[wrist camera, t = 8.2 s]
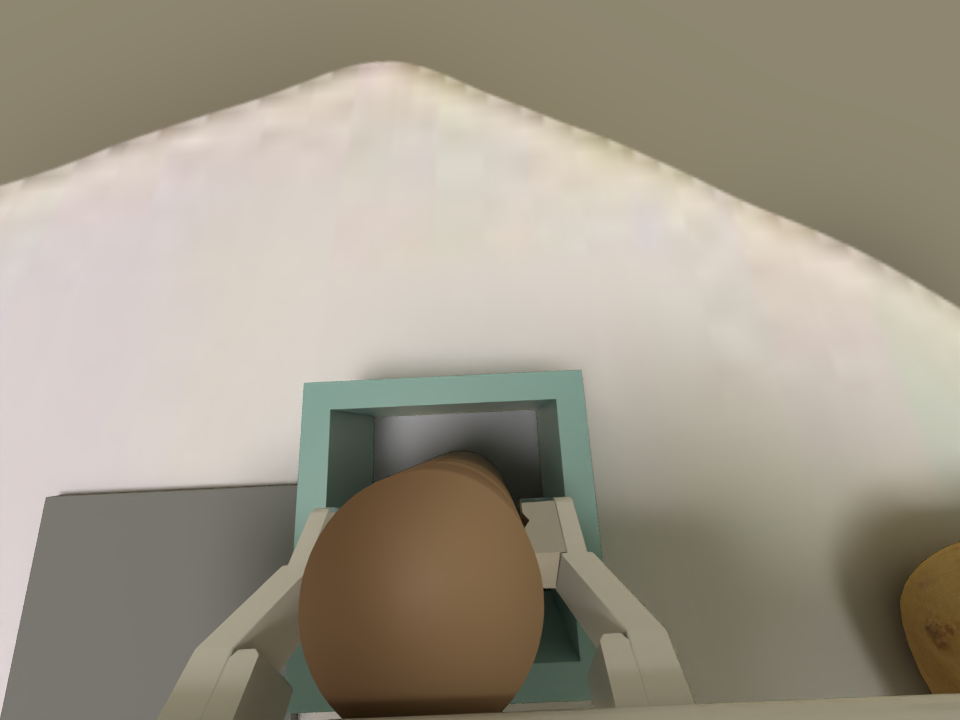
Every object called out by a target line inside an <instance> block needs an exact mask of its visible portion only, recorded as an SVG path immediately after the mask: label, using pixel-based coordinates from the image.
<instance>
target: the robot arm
mask: <svg viewBox="0 0 960 720" xmlns="http://www.w3.org/2000/svg"><path fill="white" fill-rule="evenodd" d="M340 508H341V507H328V508H314V510H313V511H312V512H311V513H310V515H309V517H308V520H307V522H306V524H305V527H304V529H303V531H302V533H301V536H300V538H299V540H298V543H297V545H296V547H295V550H294V552H293V554H292V557H291V559H290V561H289V564H288V565H285V566H282V567H281V568H280V569H279V570H277V571H276V572H275V573H274V574H273V575H272V576H271V577H270V578H269V579H268V580H267V581H266V582H265V583H264V584H263V585H262V586H261V587H260V588H259V589H258V590H257V591H256V592H254V593H253V594H252V595H251V596H250V597H249V598H248V599H247V600H246V601H245V602H244V603H243V604H242V605H241V606H240V607H239V608H238V609H237V610H236V611H235V612H234V613H232V614H231V615H230V616H229V617H228V618H227V619H226V620H225V621H224V622H223V623H222V624H221V625H220V626H219V627H218V628H217V629H216V630H215V631H214V632H213V633H212V634H210V635H209V636H208V637H207V638H206V639H205V640H204V641H203V642H202V643H201V644H200V645H199V646H198V647H197V648H196V649H195V650H194V652H193V654H192V656H191V658H190V659H189V661H188V663H187V665H186V667H185V669H184V671H183V672H182V674H181V676H180V678H179V680H178V682H177V683H176V685H175V687H174V689H173V691H172V693H171V694H170V696H169V698H168V700H167V702H166V704H165V706H164V707H163V709H162V711H161V713H160V715H159V717H158V718H157V720H284V718H285V715H286V711H287V708H288V705H289V702H290V699H291V695H292V692H293V689H292V686H291V684H290V683H289V682H288V681H287V680H286V679H285V678H284V677H283V676H282V675H281V674H280V673H279V671H280V670H281V668H282V667H283V666H284V664H285V663H286V662H287V660H288V659H289V658H290V656H291V655H292V654H293V652H294V651H295V650H296V648H297V647H298V646H299V644H300V643H301V640H300V631H299V623H298V621H299V596H300V587H301V583H302V578H303V574H304V570H305V567H306V564H307V561H308V558H309V556H310V553H311V551H312V549H313V547H314V545H315V543H316V541H317V539H318V537H319V535H320V534H321V532H322V531H323V529H324V527H325V526H326V524H327V523H328V522H329V520H330V519H331V518H332V517H333V516H334V514H335V513H336V512H337V511H338V510H339V509H340ZM519 508H520V515H519V516H520V519H521V521H522V523H523V526H524V528H525V530H526V533H527V535H528V537H529V540H530V542H531V545H532V547H533V550H534V552H535V555H536V558H537V561H538V565H539V569H540V572H541V577H542V584H543V588H556V590H557V592H558V593H559V595H560V596H561V598H562V599H563V601H564V602H565V603H566V605H567V606H568V608H569V609H570V611H571V612H572V613H573V615H574V616H575V618H576V619H577V621H578V622H579V624H580V625H581V626H582V628H583V629H584V631H585V632H586V634H587V635H588V636H589V638H590V639H591V641H592V642H593V644H594V645H595V647H596V648H597V651H596V654H595V656H594V659H593V662H592V665H591V668H590V671H589V673H588V676H587V680H588V685H589V690H590V695H591V699H592V704H593V708H592V709H569V710H545V711H521V712H497V713H473V714H449V715H425V716H402V717H378V718H354V719H330V720H960V693H958V694H926V695H903V696H879V697H855V698H831V699H807V700H783V701H759V702H736V703H712V704H695V701H694V699H693V696H692V694H691V691H690V689H689V686H688V684H687V681H686V679H685V676H684V674H683V671H682V669H681V666H680V663H679V661H678V658H677V656H676V653H675V651H674V648H673V646H672V643H671V641H670V638H669V636H668V633H667V631H666V629H665V628H664V627H663V626H662V625H661V624H660V623H659V622H658V621H657V620H656V618H655V617H654V616H653V615H652V614H651V613H650V612H649V611H648V610H647V609H646V608H645V607H644V606H643V605H642V604H641V603H640V602H639V600H638V599H637V598H636V597H635V596H634V595H633V594H632V593H631V592H630V591H629V590H628V589H627V588H626V587H625V586H624V585H623V584H622V582H621V581H620V580H619V579H618V578H617V577H616V576H615V575H614V574H613V573H612V572H611V571H610V570H609V569H608V568H607V567H606V566H605V565H604V563H603V562H602V561H601V560H600V559H599V558H598V557H597V556H596V555H595V554H594V553H593V552H587V549H586V545H585V542H584V538H583V535H582V531H581V528H580V524H579V521H578V517H577V514H576V510H575V506H574V503H573V500H572V498H571V497H570V496H567V497H542V498H526V499H520V501H519Z"/></svg>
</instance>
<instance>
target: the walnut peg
mask: <svg viewBox="0 0 960 720" xmlns="http://www.w3.org/2000/svg"><path fill="white" fill-rule="evenodd" d="M543 618H544V592H543V584H542V577H541V572H540V569H539V565H538V561H537V558H536V555H535V552H534V550H533V547H532V545H531V542H530V540H529V537H528V535H527V533H526V530H525V528H524V526H523V523H522V521H521V519H520V516H519V514H518V512H517V509H516V507H515V505H514V502H513V500H512V497H511V495H510V493H509V490H508V488H507V486H506V483H505V481H504V479H503V477H502V475H501V474H500V472H499V471H498V469H497V468H496V467H495V466H494V465H493V464H492V463H491V462H490V461H488V460H487V459H485V458H484V457H482V456H480V455H478V454H475V453H472V452H466V451H455V452H450V453H446V454H444V455H441V456H439V457H436V458H434V459H431V460H429V461H426V462H424V463H421V464H419V465H416V466H414V467H412V468H409V469H407V470H404V471H402V472H399V473H397V474H394V475H392V476H389V477H387V478H385V479H382V480H380V481H377V482H375V483H373V484H372V485H370V486H368V487H366V488H364V489H363V490H361V491H360V492H359V493H357V494H356V495H354V496H353V497H352V498H350V499H349V500H348V501H347V502H346V503H345V504H344V505H343V506H342V507H341V508H340V509H339V510H338V511H337V512H336V513H335V514H334V516H333V517H332V518H331V519H330V520H329V522H328V523H327V524H326V526H325V527H324V529H323V531H322V532H321V534H320V535H319V537H318V539H317V541H316V543H315V545H314V547H313V549H312V551H311V553H310V556H309V558H308V561H307V564H306V567H305V570H304V574H303V578H302V583H301V587H300V596H299V621H298V623H299V631H300V640H301V644H302V649H303V653H304V657H305V660H306V663H307V665H308V668H309V671H310V673H311V676H312V678H313V680H314V681H315V683H316V685H317V687H318V689H319V691H320V692H321V694H322V695H323V697H324V698H325V699H326V701H327V702H328V704H329V705H330V706H331V707H332V708H333V709H334V710H335V711H336V713H337V714H338V715H339V716H340V717H341V718H342V719H354V718H378V717H402V716H425V715H449V714H473V713H497V712H502V711H503V710H504V709H505V707H506V706H507V705H508V704H509V703H510V702H511V701H512V699H513V698H514V697H515V695H516V694H517V692H518V691H519V689H520V688H521V686H522V685H523V683H524V681H525V679H526V677H527V675H528V673H529V671H530V669H531V667H532V665H533V662H534V659H535V656H536V653H537V651H538V647H539V643H540V638H541V634H542V628H543Z"/></svg>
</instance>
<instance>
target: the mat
mask: <svg viewBox="0 0 960 720" xmlns="http://www.w3.org/2000/svg"><path fill="white" fill-rule="evenodd" d="M297 486H298V484H296V485H275V486H253V487H231V488H210V489H188V490H167V491H145V492H123V493H102V494H80V495H59V496H51V497H46V500H45V504H44V509H43V514H42V519H41V524H40V529H39V533H38V538H37V543H36V548H35V553H34V558H33V562H32V567H31V572H30V577H29V582H28V587H27V591H26V596H25V601H24V606H23V611H22V616H21V620H20V625H19V630H18V635H17V640H16V645H15V649H14V654H13V659H12V664H11V669H10V674H9V678H8V683H7V688H6V693H5V698H4V703H3V707H2V712H1V717H0V720H157V718H158V717H159V715H160V713H161V711H162V709H163V707H164V706H165V704H166V702H167V700H168V698H169V696H170V694H171V693H172V691H173V689H174V687H175V685H176V683H177V682H178V680H179V678H180V676H181V674H182V672H183V671H184V669H185V667H186V665H187V663H188V661H189V659H190V658H191V656H192V654H193V652H194V650H195V649H196V648H197V647H198V646H199V645H200V644H201V643H202V642H203V641H204V640H205V639H206V638H207V637H208V636H209V635H210V634H212V633H213V632H214V631H215V630H216V629H217V628H218V627H219V626H220V625H221V624H222V623H223V622H224V621H225V620H226V619H227V618H228V617H229V616H230V615H231V614H232V613H234V612H235V611H236V610H237V609H238V608H239V607H240V606H241V605H242V604H243V603H244V602H245V601H246V600H247V599H248V598H249V597H250V596H251V595H252V594H253V593H254V592H256V591H257V590H258V589H259V588H260V587H261V586H262V585H263V584H264V583H265V582H266V581H267V580H268V579H269V578H270V577H271V576H272V575H273V574H274V573H275V572H276V571H277V570H279V569H280V568H281V567H282V566H285V565H288V564H289V561H290V559H291V557H292V554H293V550H294V534H295V518H296V502H297ZM279 673H280V674H281V675H282V676H283V677H284V678H286V663H285V664H284V666H283V667H282V668H281V670H280V671H279ZM284 720H297V713H287V714H286V715H285V718H284Z"/></svg>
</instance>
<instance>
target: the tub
mask: <svg viewBox="0 0 960 720" xmlns="http://www.w3.org/2000/svg"><path fill="white" fill-rule="evenodd" d="M516 410H536V415H537V428H538V441H539V453H540V466H541V478H542V491H543V497H567V496H570V497H571V498H572V500H573V503H574V506H575V510H576V514H577V517H578V521H579V524H580V528H581V531H582V535H583V538H584V542H585V545H586V549H587V552H593V553H594V554H595V555H596V556H597V557H598V558H599V559H600V560H601V561H602V553H601V543H600V534H599V525H598V516H597V507H596V498H595V489H594V479H593V470H592V461H591V452H590V443H589V434H588V425H587V415H586V406H585V397H584V388H583V379H582V370H566V371H545V372H524V373H503V374H482V375H460V376H439V377H418V378H397V379H376V380H355V381H334V382H312V383H304V390H303V406H302V422H301V438H300V454H299V470H298V486H297V502H296V518H295V534H294V550H295V547H296V545H297V543H298V540H299V538H300V536H301V533H302V531H303V529H304V527H305V524H306V522H307V520H308V517H309V515H310V513H311V512H312V511H313V510H314V508H328V507H342V506H343V505H344V504H345V503H346V502H347V501H348V500H349V499H350V498H352V497H353V496H354V495H356V494H357V493H359V492H360V491H361V490H363V489H364V488H366V487H368V486H370V485H372V484H373V444H374V417H388V416H409V415H430V414H452V413H473V412H494V411H516ZM294 550H293V552H294ZM543 592H544V618H543V628H542V634H541V638H540V643H539V647H538V651H537V653H536V656H535V659H534V662H533V665H532V667H531V669H530V671H529V673H528V675H527V677H526V679H525V681H524V683H523V685H522V686H521V688H520V689H519V691H518V692H517V694H516V695H515V697H514V698H513V699H512V701H511V702H510V703H509V704H515V703H537V702H560V701H583V700H592V699H591V695H590V690H589V685H588V680H587V676H588V673H589V671H590V668H591V665H592V662H593V659H594V656H595V654H596V651H597V648H596V647H595V645H594V644H593V642H592V641H591V639H590V638H589V636H588V635H587V634H586V632H585V631H584V629H583V628H582V626H581V625H580V624H579V622H578V621H577V619H576V618H575V616H574V615H573V613H572V612H571V611H570V609H569V608H568V606H567V605H566V603H565V602H564V601H563V599H562V598H561V596H560V595H559V593H558V592H557V590H556V588H550V591H543ZM285 679H286V680H287V681H288V682H289V683H290V684H291V686H292V689H293V692H292V695H291V699H290V702H289V705H288V708H287V711H286V714H287V713H310V712H332V711H335V710H334V709H333V708H332V707H331V706H330V705H329V704H328V702H327V701H326V699H325V698H324V697H323V695H322V694H321V692H320V691H319V689H318V687H317V685H316V683H315V681H314V680H313V678H312V676H311V673H310V671H309V668H308V665H307V663H306V660H305V657H304V653H303V649H302V644H301V643H300V644H299V646H298V647H297V648H296V650H295V651H294V652H293V654H292V655H291V656H290V658H289V659H288V660H287V662H286V678H285Z"/></svg>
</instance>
